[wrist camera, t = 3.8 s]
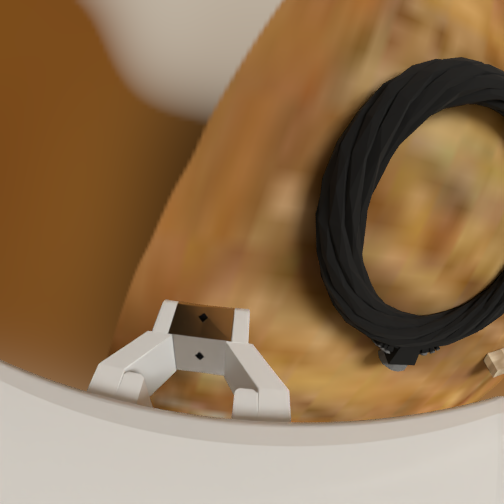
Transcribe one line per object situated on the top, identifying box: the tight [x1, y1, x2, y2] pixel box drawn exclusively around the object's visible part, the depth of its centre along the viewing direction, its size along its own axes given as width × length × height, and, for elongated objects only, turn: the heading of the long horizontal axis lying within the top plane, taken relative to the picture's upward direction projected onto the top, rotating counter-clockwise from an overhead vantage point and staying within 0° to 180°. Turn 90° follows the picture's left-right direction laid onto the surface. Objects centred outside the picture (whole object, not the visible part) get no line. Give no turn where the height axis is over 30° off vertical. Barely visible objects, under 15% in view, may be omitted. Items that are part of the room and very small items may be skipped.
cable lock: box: [316, 57, 504, 371], centre depth 21 cm, size 28×4×30 cm
